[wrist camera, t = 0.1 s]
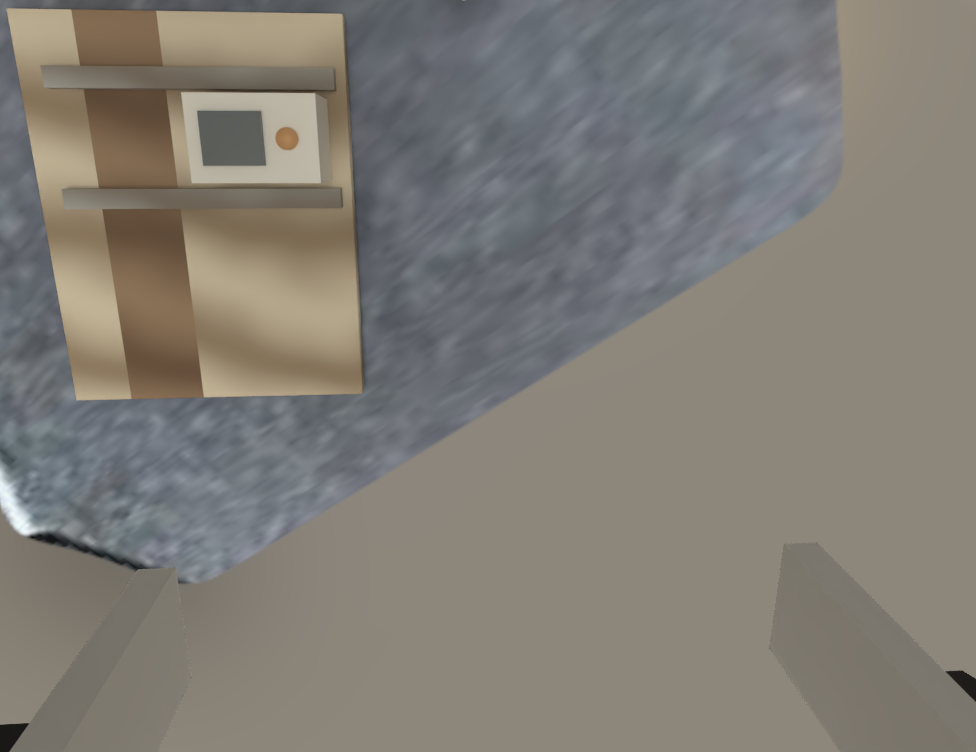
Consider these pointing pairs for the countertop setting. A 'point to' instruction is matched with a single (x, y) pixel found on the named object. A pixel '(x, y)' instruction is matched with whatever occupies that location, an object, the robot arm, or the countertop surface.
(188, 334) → the subfloor panel
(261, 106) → the block
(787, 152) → the countertop surface
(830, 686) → the robot arm
